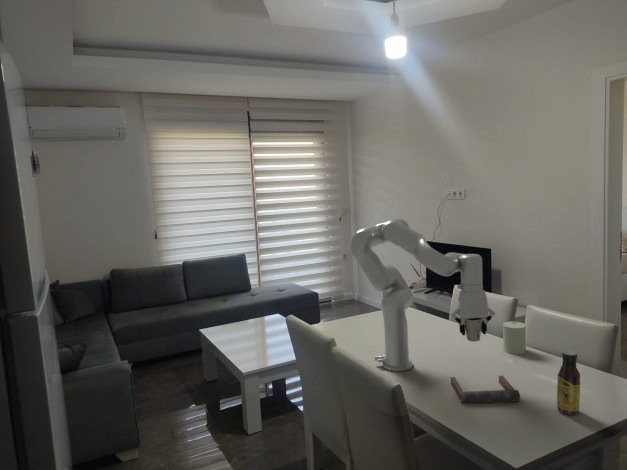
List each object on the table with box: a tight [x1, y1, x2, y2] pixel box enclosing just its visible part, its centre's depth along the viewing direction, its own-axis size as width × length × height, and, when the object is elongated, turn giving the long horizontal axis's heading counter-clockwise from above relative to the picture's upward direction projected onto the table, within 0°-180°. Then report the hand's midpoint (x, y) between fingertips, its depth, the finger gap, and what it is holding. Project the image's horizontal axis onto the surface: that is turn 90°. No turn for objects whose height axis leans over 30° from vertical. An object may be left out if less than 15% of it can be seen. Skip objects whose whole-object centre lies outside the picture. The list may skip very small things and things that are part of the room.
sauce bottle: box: [556, 349, 581, 416], centre depth 139 cm, size 7×6×20 cm
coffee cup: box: [464, 318, 482, 342], centre depth 165 cm, size 7×7×10 cm
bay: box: [450, 375, 521, 404], centre depth 155 cm, size 19×16×4 cm
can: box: [502, 320, 527, 355], centre depth 191 cm, size 9×9×12 cm
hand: (473, 333), depth 165 cm, fingers closed on coffee cup, 7 cm apart
